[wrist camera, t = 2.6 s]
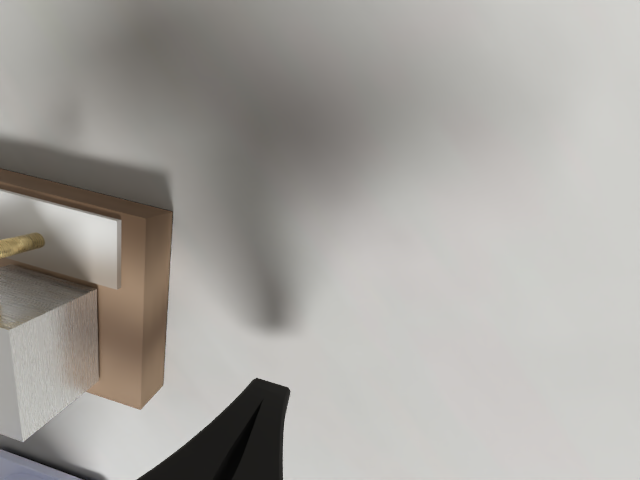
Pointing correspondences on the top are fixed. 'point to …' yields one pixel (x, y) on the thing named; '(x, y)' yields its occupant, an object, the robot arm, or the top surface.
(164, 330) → the gauge board
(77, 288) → the block
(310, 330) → the top surface
